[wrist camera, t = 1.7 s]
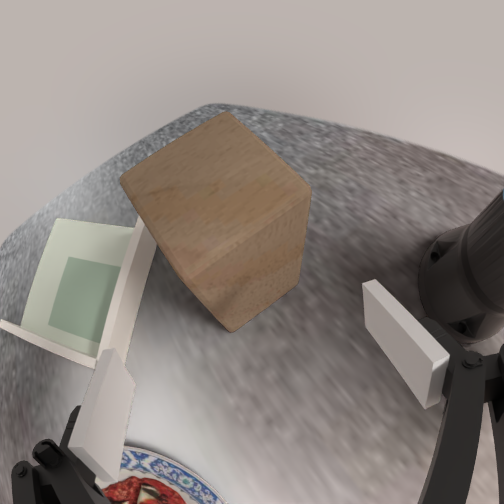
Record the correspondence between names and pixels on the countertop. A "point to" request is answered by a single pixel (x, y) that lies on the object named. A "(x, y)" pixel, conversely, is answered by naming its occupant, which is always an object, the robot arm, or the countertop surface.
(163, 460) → the ceramic plate
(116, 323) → the corner arena
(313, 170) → the countertop surface
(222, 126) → the wooden block
